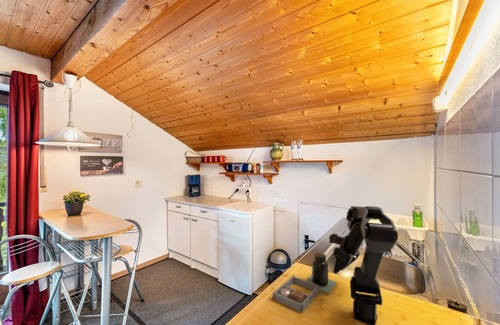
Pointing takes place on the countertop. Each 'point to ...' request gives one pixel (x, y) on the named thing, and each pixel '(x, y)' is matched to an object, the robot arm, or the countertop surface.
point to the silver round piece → (286, 292)
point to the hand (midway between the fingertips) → (337, 271)
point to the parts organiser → (287, 284)
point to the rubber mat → (326, 288)
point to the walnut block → (298, 296)
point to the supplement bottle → (320, 270)
